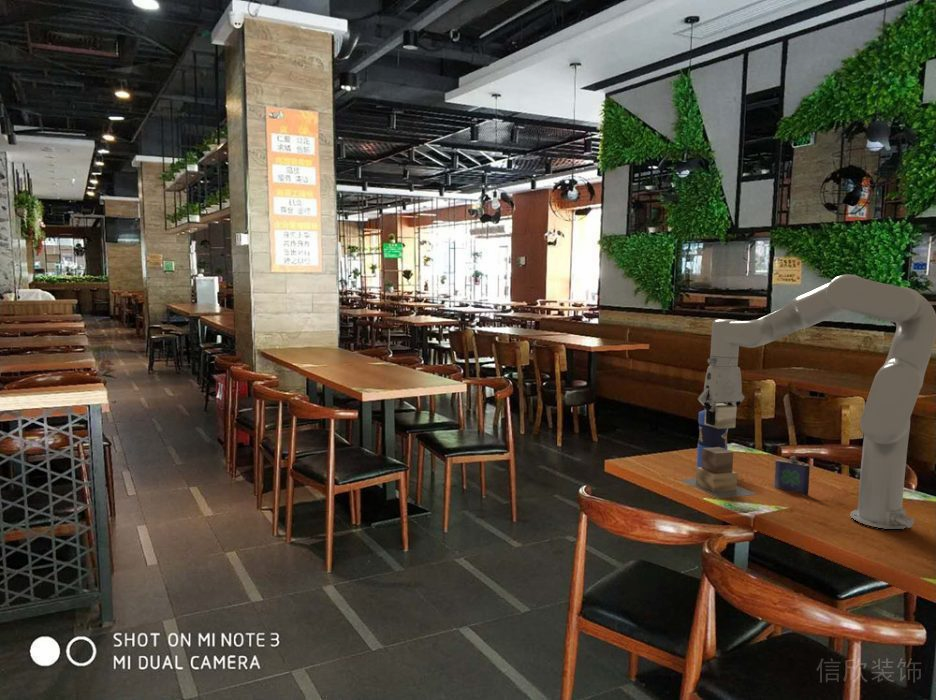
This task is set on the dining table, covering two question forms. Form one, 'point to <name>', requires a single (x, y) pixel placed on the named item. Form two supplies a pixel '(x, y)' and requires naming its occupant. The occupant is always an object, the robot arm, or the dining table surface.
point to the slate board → (721, 494)
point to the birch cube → (724, 416)
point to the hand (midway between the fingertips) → (719, 423)
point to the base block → (716, 480)
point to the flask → (792, 475)
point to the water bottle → (709, 437)
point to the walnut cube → (717, 460)
